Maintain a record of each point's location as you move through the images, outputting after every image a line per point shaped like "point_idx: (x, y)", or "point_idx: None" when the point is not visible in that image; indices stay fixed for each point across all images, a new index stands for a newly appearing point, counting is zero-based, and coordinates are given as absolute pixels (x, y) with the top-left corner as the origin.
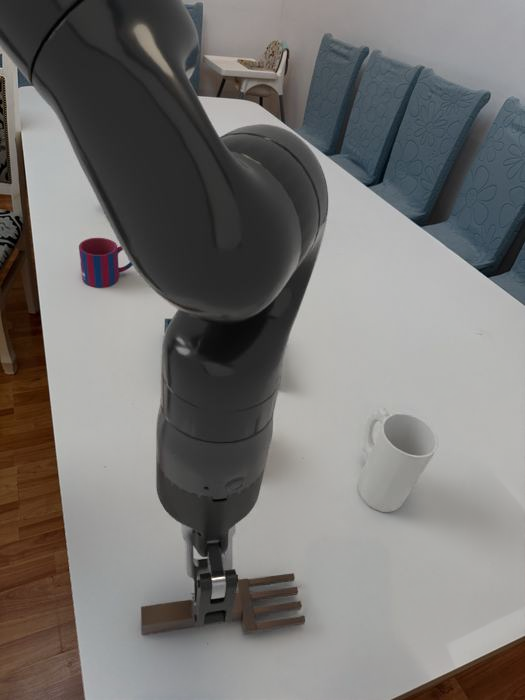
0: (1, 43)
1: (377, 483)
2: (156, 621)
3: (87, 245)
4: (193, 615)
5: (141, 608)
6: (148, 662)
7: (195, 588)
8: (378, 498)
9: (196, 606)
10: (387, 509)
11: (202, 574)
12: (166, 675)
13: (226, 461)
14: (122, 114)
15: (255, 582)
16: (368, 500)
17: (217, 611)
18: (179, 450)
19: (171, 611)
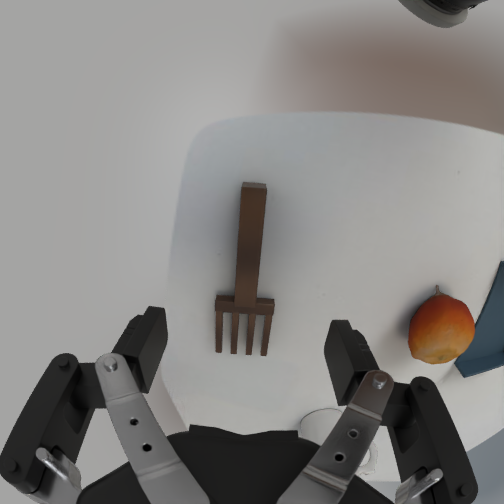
0: None
1: (319, 439)
2: (242, 206)
3: None
4: (146, 310)
5: (264, 188)
6: (211, 187)
7: (101, 388)
8: (311, 427)
9: (60, 385)
10: (302, 423)
11: (18, 486)
12: (194, 205)
13: None
14: None
15: (266, 321)
16: (316, 416)
17: (70, 400)
18: None
19: (251, 226)
